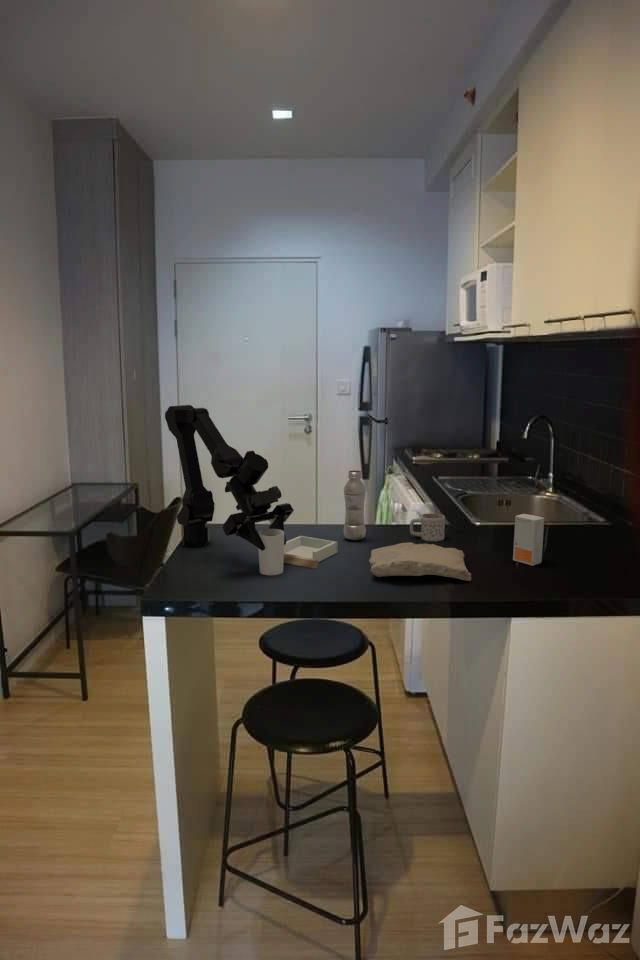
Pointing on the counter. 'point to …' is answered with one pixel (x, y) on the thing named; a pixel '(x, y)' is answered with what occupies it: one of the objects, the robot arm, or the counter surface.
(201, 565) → the counter surface
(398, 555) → the beige flat stone slab
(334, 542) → the tray
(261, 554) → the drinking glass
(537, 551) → the skincare box
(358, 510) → the plastic bottle
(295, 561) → the oak rail
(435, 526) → the mug
